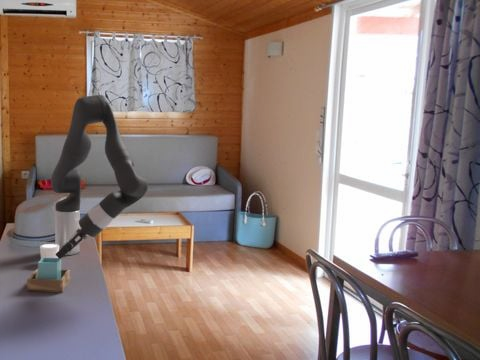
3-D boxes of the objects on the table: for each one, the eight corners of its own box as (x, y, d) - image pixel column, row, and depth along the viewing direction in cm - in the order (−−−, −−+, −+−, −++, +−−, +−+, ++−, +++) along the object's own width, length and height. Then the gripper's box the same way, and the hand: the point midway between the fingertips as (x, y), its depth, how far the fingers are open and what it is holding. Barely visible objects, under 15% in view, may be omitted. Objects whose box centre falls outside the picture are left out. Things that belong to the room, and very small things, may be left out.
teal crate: (42, 280, 193) (42, 257, 191) (61, 281, 193) (61, 257, 192) (38, 286, 187) (37, 262, 186) (56, 287, 187) (57, 263, 186)
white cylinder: (62, 262, 217) (62, 244, 216) (54, 267, 210) (54, 248, 209) (44, 260, 217) (44, 242, 216) (36, 266, 211) (36, 247, 210)
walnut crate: (37, 280, 195) (37, 268, 195) (70, 280, 196) (70, 269, 195) (27, 291, 184) (27, 279, 183) (62, 292, 185) (62, 280, 184)
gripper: (92, 207, 194) (57, 239, 195) (84, 216, 180) (46, 250, 181) (108, 223, 195) (73, 255, 196) (101, 233, 181) (64, 267, 182)
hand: (60, 252), depth 189 cm, fingers open, 8 cm apart
